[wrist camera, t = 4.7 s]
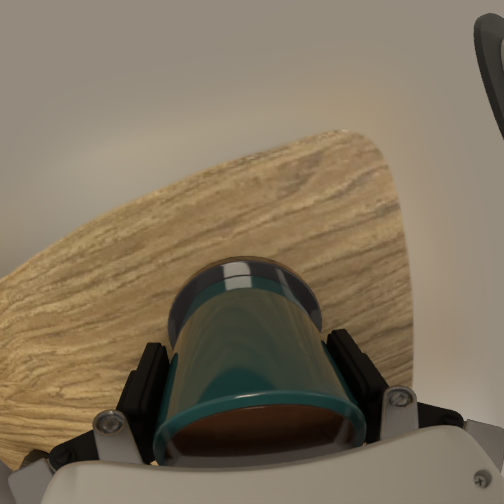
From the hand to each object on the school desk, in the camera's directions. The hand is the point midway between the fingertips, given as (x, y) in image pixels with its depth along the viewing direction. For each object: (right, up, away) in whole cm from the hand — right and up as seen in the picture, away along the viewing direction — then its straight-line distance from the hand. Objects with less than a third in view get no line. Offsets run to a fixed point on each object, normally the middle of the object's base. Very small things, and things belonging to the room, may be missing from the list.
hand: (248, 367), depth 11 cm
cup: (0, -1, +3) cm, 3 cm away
